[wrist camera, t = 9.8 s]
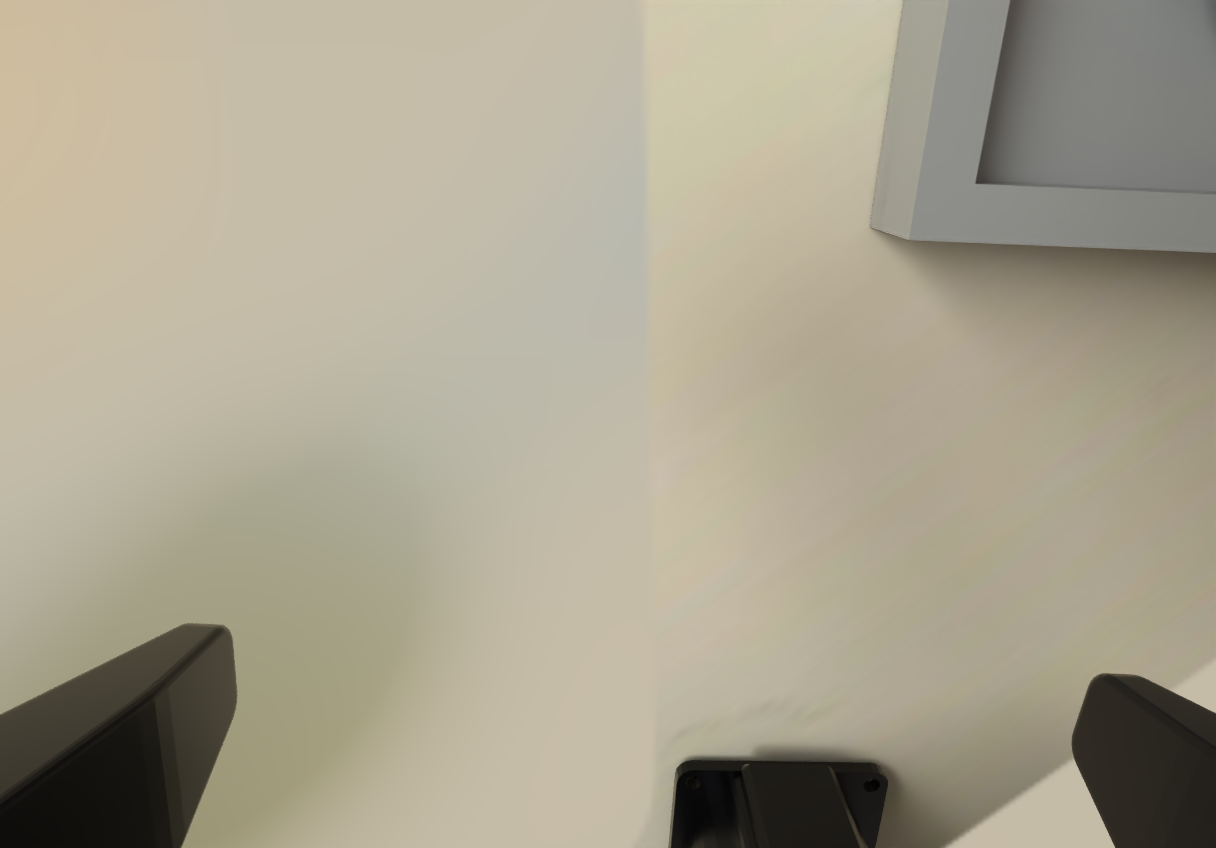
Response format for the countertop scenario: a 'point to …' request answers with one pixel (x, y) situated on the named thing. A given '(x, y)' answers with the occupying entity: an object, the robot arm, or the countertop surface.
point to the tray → (1052, 124)
